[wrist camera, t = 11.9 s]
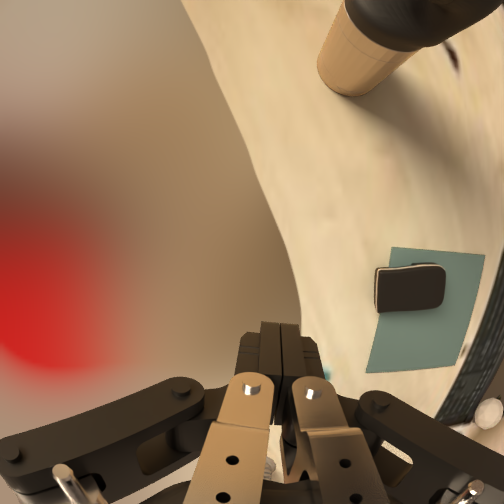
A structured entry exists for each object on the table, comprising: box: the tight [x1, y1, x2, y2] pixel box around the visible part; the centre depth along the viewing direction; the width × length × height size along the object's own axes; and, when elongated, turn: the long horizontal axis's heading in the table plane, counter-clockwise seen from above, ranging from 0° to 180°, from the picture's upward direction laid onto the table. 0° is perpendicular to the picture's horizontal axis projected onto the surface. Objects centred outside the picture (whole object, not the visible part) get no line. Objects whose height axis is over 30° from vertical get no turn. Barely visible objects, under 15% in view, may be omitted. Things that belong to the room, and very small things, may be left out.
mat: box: [366, 247, 485, 373], centre depth 44 cm, size 22×20×1 cm
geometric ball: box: [475, 398, 503, 429], centre depth 46 cm, size 8×8×8 cm
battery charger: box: [374, 262, 446, 313], centre depth 41 cm, size 7×4×11 cm
